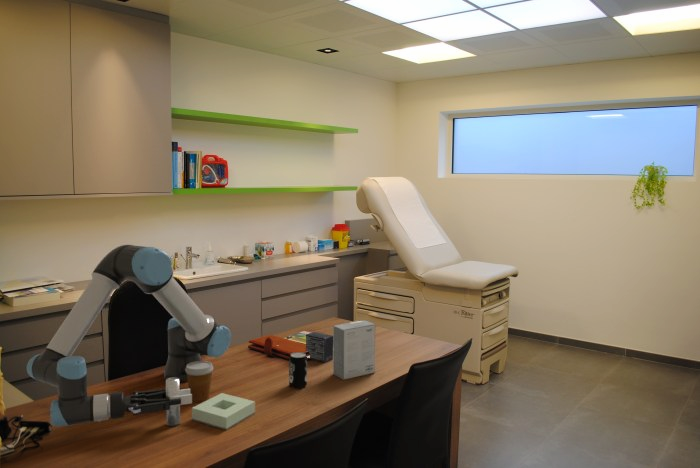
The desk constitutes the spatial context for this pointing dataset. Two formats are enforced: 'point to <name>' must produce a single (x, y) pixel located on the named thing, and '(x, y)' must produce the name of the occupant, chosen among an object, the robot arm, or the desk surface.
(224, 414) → the socket block
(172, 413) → the pin
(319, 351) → the small box
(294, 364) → the beverage can
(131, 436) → the desk surface
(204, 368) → the disposable coffee cup
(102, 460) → the desk surface
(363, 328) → the hard drive box
